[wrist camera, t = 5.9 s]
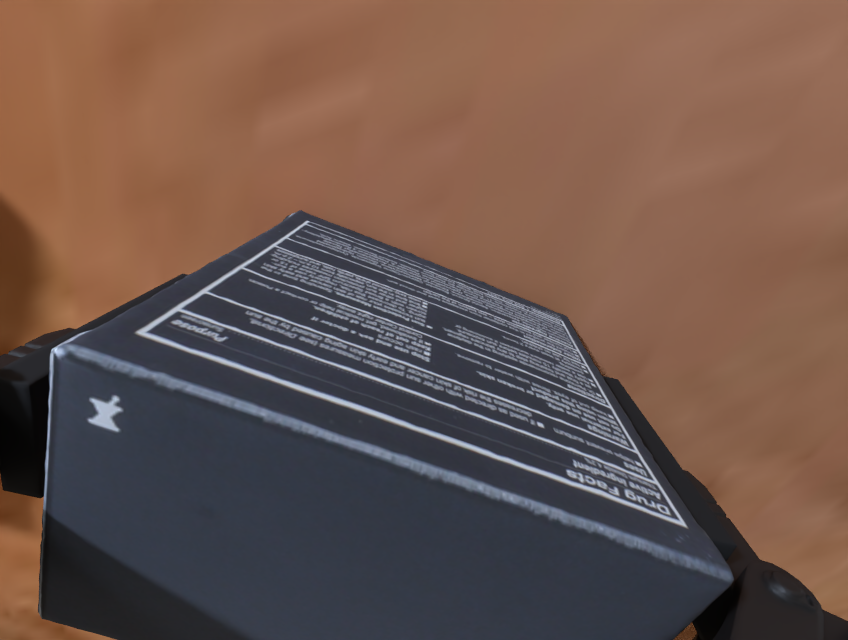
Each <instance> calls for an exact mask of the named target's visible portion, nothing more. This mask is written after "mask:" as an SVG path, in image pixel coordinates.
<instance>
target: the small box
mask: <svg viewBox="0 0 848 640" xmlns="http://www.w3.org/2000/svg"><path fill="white" fill-rule="evenodd" d="M49 387H50V389H49V399H48V405H49V414H48V429H47V449H46V459H45V485H44V507H43V515H42V527H43V530H42V541H41V545H40V546H41V555H40V574H39V604H38V612H39V614H40V616H41V618H42V619H46V620H50V621H53V622H56V623H59V624H63V625H67V626H71V627H74V628H77V629H81V630H85V631H88V632H92V633H96V634H100V635H103V636H107V637H110V638H114V639H117V640H673V639H674V638H675V637H676V636H677V635H678V634H679V633H681V632H682V631H683V630H684V629H685V628H686V627H687V626H688V625H689V624H690V623H691V622H692V621H693V620H695V619H696V618H697V617H698V616H699V615H700V614H701V613H702V612H703V611H704V610H705V609H706V608H707V607H708V606H709V605H710V604H711V603H712V602H713V601H715V600H716V599H717V598H718V597H719V596H720V595H721V594H722V593H723V592H725V591H726V590H727V589H728V588H729V587H730V586H731V584H732V583H733V581H734V577H733V574H732V572H731V569H730V567H729V566H728V564H727V563H726V561H725V559H724V558H723V556H722V554H721V553H720V551H719V550H718V549H717V547H716V546H715V545H714V543H713V542H712V540H711V539H710V537H709V536H708V535H707V533H706V532H705V531H704V530H703V529H702V528H701V527H700V526H699V525H698V524H697V523H696V521H695V519H694V518H693V516H692V514H691V513H690V511H689V510H688V509H687V507H686V506H685V504H684V503H683V501H682V500H681V498H680V497H679V495H678V494H677V492H676V490H675V489H674V488H673V487H672V486H671V485H670V483H669V482H668V480H667V478H666V477H665V475H664V474H663V472H662V471H661V469H660V467H659V466H658V464H657V463H656V462H655V461H654V459H653V455H652V454H651V453H650V452H649V450H648V449H647V448H646V447H645V446H644V445H643V442H642V439H641V438H640V436H639V435H638V434H637V432H636V430H635V429H634V427H633V425H632V422H631V421H630V419H629V418H628V417H627V415H626V414H625V412H624V410H623V409H622V407H621V406H620V404H619V403H618V401H617V399H616V398H615V396H614V394H613V393H612V391H611V390H610V388H609V386H608V385H607V383H606V382H605V380H604V378H603V377H602V375H601V374H600V372H599V370H598V368H597V367H596V366H595V364H594V363H593V361H592V359H591V357H590V355H589V354H588V353H587V351H586V349H585V348H584V347H583V344H582V342H581V341H580V339H579V337H578V336H577V334H576V331H575V330H574V329H573V327H572V326H571V322H570V321H569V319H568V317H567V316H565V315H563V314H560V313H556V312H554V311H552V310H549V309H547V308H545V307H542V306H540V305H537V304H535V303H533V302H530V301H528V300H525V299H522V298H520V297H518V296H515V295H512V294H510V293H507V292H505V291H502V290H500V289H497V288H495V287H493V286H490V285H488V284H486V283H484V282H481V281H477V280H475V279H472V278H470V277H467V276H465V275H462V274H460V273H458V272H455V271H453V270H450V269H447V268H445V267H442V266H440V265H437V264H435V263H433V262H430V261H427V260H424V259H422V258H419V257H417V256H415V255H414V254H412V253H408V252H406V251H403V250H400V249H397V248H395V247H392V246H390V245H387V244H384V243H382V242H380V241H377V240H374V239H372V238H370V237H367V236H364V235H362V234H359V233H357V232H354V231H352V230H349V229H346V228H344V227H341V226H338V225H336V224H333V223H330V222H328V221H325V220H323V219H320V218H317V217H315V216H312V215H310V214H307V213H305V212H303V211H298V212H296V213H293V214H292V215H289V216H287V217H286V218H285V219H284V220H283V222H281V223H280V224H278V225H277V226H275V227H273V228H272V229H270V230H268V231H267V232H265V233H263V234H261V235H259V236H258V237H256V238H254V239H252V240H250V241H249V242H247V243H245V244H243V245H242V246H240V247H238V248H237V249H235V250H233V251H231V252H230V253H228V254H226V255H223V256H221V257H220V258H218V259H217V260H215V261H213V262H211V263H209V264H207V265H206V266H204V267H203V268H201V269H200V270H198V271H196V272H194V273H192V274H190V275H188V276H186V277H185V278H183V279H181V280H179V281H177V282H176V283H175V284H173V285H171V286H169V287H167V288H165V289H163V290H162V291H160V292H158V293H156V294H155V295H154V296H152V297H151V298H149V299H147V300H146V301H144V302H142V303H140V304H138V305H136V306H134V307H132V308H130V309H128V310H127V311H125V312H124V313H122V314H120V315H118V316H117V317H115V318H114V319H112V320H110V321H109V322H106V323H104V324H103V325H101V326H99V327H97V328H95V329H93V330H90V331H86V332H83V333H80V334H78V335H76V336H74V337H72V338H70V339H68V340H67V341H65V342H63V343H61V344H60V345H58V346H56V347H54V348H53V349H52V350H51V353H50V368H49Z"/></svg>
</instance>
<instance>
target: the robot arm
mask: <svg viewBox="0 0 848 640" xmlns="http://www.w3.org/2000/svg"><path fill="white" fill-rule="evenodd" d="M186 276H188V275H186V274H181V275H179V276H177V277H176V278H174V279H172V280H170V281H168V282H166V283H164V284H162V285H160V286H158V287H156V288H154V289H152V290H151V291H149V292H147V293H145V294H143V295H141V296H139V297H137V298H135V299H133V300H131V301H129V302H127V303H126V304H124V305H122V306H120V307H118V308H116V309H114V310H112V311H110V312H108V313H106V314H104V315H102V316H101V317H99V318H97V319H95V320H93V321H91V322H89V323H87V324H85V325H83V326H81V327H79V328H77V329H72V328H67V329H63V330H59V331H55V332H51V333H47V334H44V335H42V336H40V337H38V338H36V339H34V340H32V341H30V342H28V343H26V344H25V346H20V347H18V348H16V349H14V350H11V351H9V353H8V354H3V355H1V356H0V474H1V480H2V487H3V490H4V491H9V492H14V493H18V494H23V495H28V496H32V497H37V498H42V497H43V496H44V485H45V459H46V449H47V429H48V414H49V405H48V399H49V389H50V387H49V368H50V353H51V350H52V349H53V348H54V347H56V346H58V345H60V344H61V343H63V342H65V341H67V340H68V339H70V338H72V337H74V336H76V335H78V334H80V333H83V332H86V331H90V330H93V329H95V328H97V327H99V326H101V325H103V324H104V323H106V322H109V321H110V320H112V319H114V318H115V317H117V316H118V315H120V314H122V313H124V312H125V311H127V310H128V309H130V308H132V307H134V306H136V305H138V304H140V303H142V302H144V301H146V300H147V299H149V298H151V297H152V296H154V295H155V294H156V293H158V292H160V291H162V290H163V289H165V288H167V287H169V286H171V285H173V284H175V283H176V282H177V281H179V280H181V279H183V278H185V277H186ZM602 377H603V378H604V380H605V382H606V383H607V385H608V386H609V388H610V390H611V391H612V393H613V394H614V396H615V398H616V399H617V401H618V403H619V404H620V406H621V407H622V409H623V410H624V412H625V414H626V415H627V417H628V418H629V419H630V421H631V422H632V425H633V427H634V429H635V430H636V432H637V434H638V435H639V436H640V438H641V439H642V442H643V445H644V446H645V447H646V448H647V449H648V450H649V452H650V453H651V454H652V455H653V459H654V461H655V462H656V463H657V464H658V466H659V467H660V469H661V471H662V472H663V474H664V475H665V477H666V478H667V480H668V482H669V483H670V485H671V486H672V487H673V488H674V489H675V490H676V492H677V494H678V495H679V497H680V498H681V500H682V501H683V503H684V504H685V506H686V507H687V509H688V510H689V511H690V513H691V514H692V516H693V518H694V519H695V521H696V523H697V524H698V525H699V526H700V527H701V528H702V529H703V530H704V531H705V532H706V533H707V535H708V536H709V537H710V539H711V540H712V542H713V543H714V545H715V546H716V547H717V549H718V550H719V551H720V553H721V554H722V556H723V558H724V559H725V561H726V563H727V564H728V566H729V567H730V569H731V572H732V574H733V577H734V581H733V583H732V584H731V586H730V587H729V588H728V589H727V590H726V591H725V592H723V593H722V594H721V595H720V596H719V597H718V598H717V599H716V600H715V601H713V602H712V603H711V604H710V605H709V606H708V607H707V608H706V609H705V610H704V611H703V612H702V613H701V614H700V615H699V616H698V617H697V618H696V619H695V620H693V621H692V623H693V625H694V627H695V629H696V631H697V634H696V635H695V637H694V638H693V639H692V640H848V621H846V620H844V619H842V618H840V617H837V616H835V615H833V614H831V613H829V612H827V611H824V610H822V608H821V605H820V603H819V602H818V601H817V599H816V598H815V596H814V595H813V594H812V592H811V591H809V590H808V589H807V588H806V587H805V586H804V585H803V584H802V583H801V582H800V581H799V580H798V579H796V578H795V577H794V576H792V575H791V574H789V573H788V572H787V571H785V570H783V569H781V568H780V567H778V566H776V565H774V564H772V563H769V562H765V561H762V560H760V559H759V558H758V556H757V555H756V554H755V552H754V551H753V550H752V548H751V547H750V546H749V544H748V543H747V542H746V540H745V539H744V538H743V536H742V535H741V534H740V532H739V531H738V530H737V528H736V527H735V526H734V524H733V523H732V522H731V520H730V519H729V518H726V514H725V512H724V511H723V510H722V508H721V507H720V506H719V505H717V504H716V503H717V502H716V500H715V499H714V498H713V496H712V495H711V494H710V492H709V491H708V490H707V488H706V487H705V486H704V485H703V484H702V483H701V482H699V481H698V480H697V479H696V478H695V477H694V476H693V475H692V474H690V473H689V472H688V471H685V470H682V468H681V467H680V465H679V464H678V463H677V461H676V460H675V458H674V457H673V456H672V454H671V453H670V452H669V450H668V449H667V447H666V446H665V445H664V443H663V442H662V440H661V439H660V438H659V436H658V435H657V433H656V432H655V431H654V429H653V428H652V426H651V425H650V424H649V422H648V421H647V420H646V418H645V417H644V415H643V414H642V413H641V411H640V410H639V408H638V407H637V406H636V404H635V403H634V401H633V400H632V399H631V397H630V396H629V394H628V393H627V392H626V390H625V389H624V388H623V386H622V385H621V383H620V382H619V381H618V380H617V379H613V378H609V377H605V376H602Z"/></svg>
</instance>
